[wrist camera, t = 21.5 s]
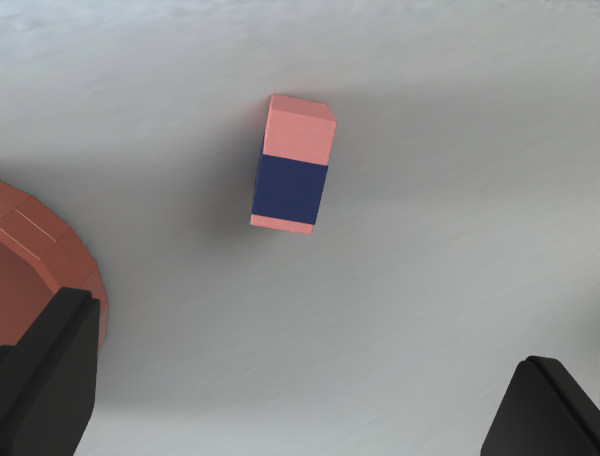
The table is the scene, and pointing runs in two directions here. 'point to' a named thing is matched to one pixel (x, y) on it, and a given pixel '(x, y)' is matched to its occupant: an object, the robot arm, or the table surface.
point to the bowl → (39, 264)
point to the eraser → (293, 164)
